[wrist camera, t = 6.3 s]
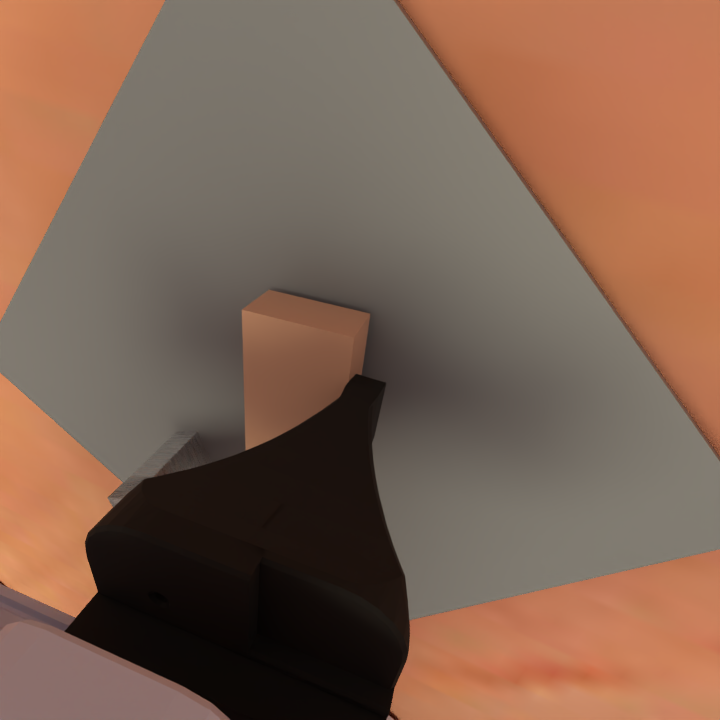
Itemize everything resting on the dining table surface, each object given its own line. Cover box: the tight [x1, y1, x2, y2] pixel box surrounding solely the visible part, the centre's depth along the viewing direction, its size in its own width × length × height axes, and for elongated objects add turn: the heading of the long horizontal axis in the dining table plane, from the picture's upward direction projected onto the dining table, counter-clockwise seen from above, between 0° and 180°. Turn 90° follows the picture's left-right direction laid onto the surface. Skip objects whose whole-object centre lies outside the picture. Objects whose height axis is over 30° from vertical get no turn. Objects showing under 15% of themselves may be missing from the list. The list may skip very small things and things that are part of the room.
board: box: [0, 0, 720, 620], centre depth 16 cm, size 20×20×2 cm
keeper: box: [108, 431, 212, 507], centre depth 15 cm, size 2×5×4 cm, turn 103°
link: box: [242, 290, 370, 450], centre depth 14 cm, size 15×4×4 cm, turn 173°
